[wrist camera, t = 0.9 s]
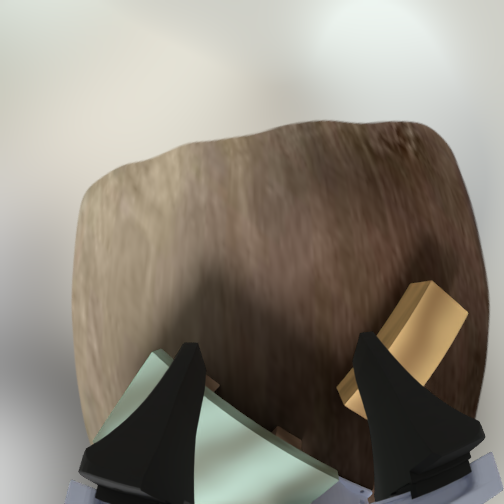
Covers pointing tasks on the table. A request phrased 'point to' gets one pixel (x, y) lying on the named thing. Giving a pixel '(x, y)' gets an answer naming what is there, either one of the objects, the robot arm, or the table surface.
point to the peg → (414, 336)
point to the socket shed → (233, 449)
